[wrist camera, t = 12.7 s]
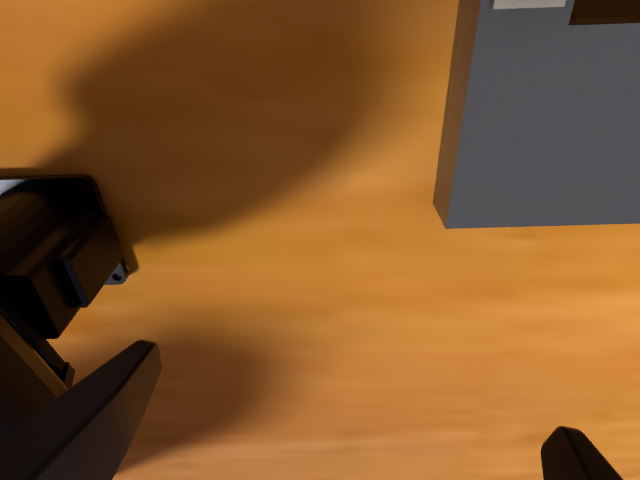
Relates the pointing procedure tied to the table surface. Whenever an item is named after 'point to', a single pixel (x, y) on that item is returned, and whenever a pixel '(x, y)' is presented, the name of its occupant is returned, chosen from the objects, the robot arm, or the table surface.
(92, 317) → the table surface
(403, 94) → the table surface
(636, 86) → the flange plate
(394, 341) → the table surface
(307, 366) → the table surface
